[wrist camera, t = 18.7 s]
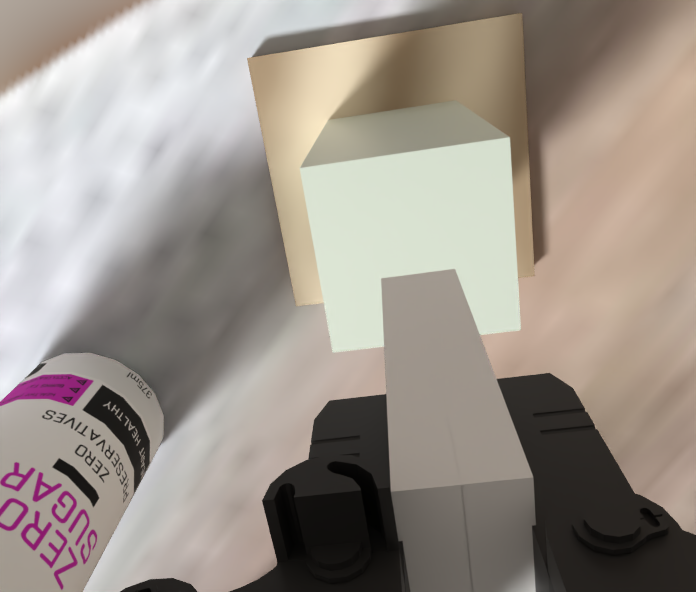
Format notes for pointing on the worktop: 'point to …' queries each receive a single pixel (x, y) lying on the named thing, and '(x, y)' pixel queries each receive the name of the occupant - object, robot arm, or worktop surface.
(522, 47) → the post base
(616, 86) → the worktop surface
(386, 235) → the tall mint green block
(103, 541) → the supplement can
